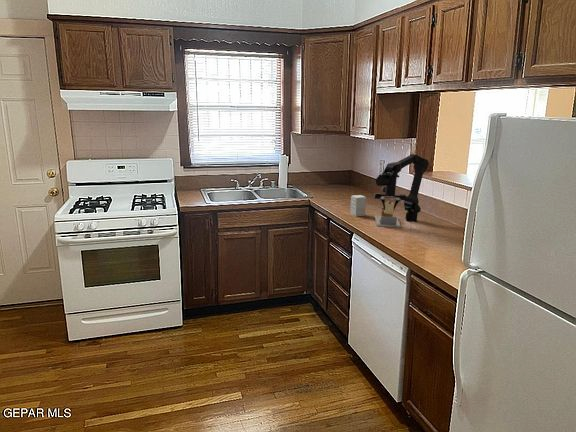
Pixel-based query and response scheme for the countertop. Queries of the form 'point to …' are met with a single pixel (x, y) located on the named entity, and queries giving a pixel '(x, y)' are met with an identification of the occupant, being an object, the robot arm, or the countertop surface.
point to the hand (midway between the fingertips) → (388, 210)
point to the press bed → (387, 221)
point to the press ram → (385, 214)
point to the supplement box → (358, 205)
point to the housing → (389, 207)
